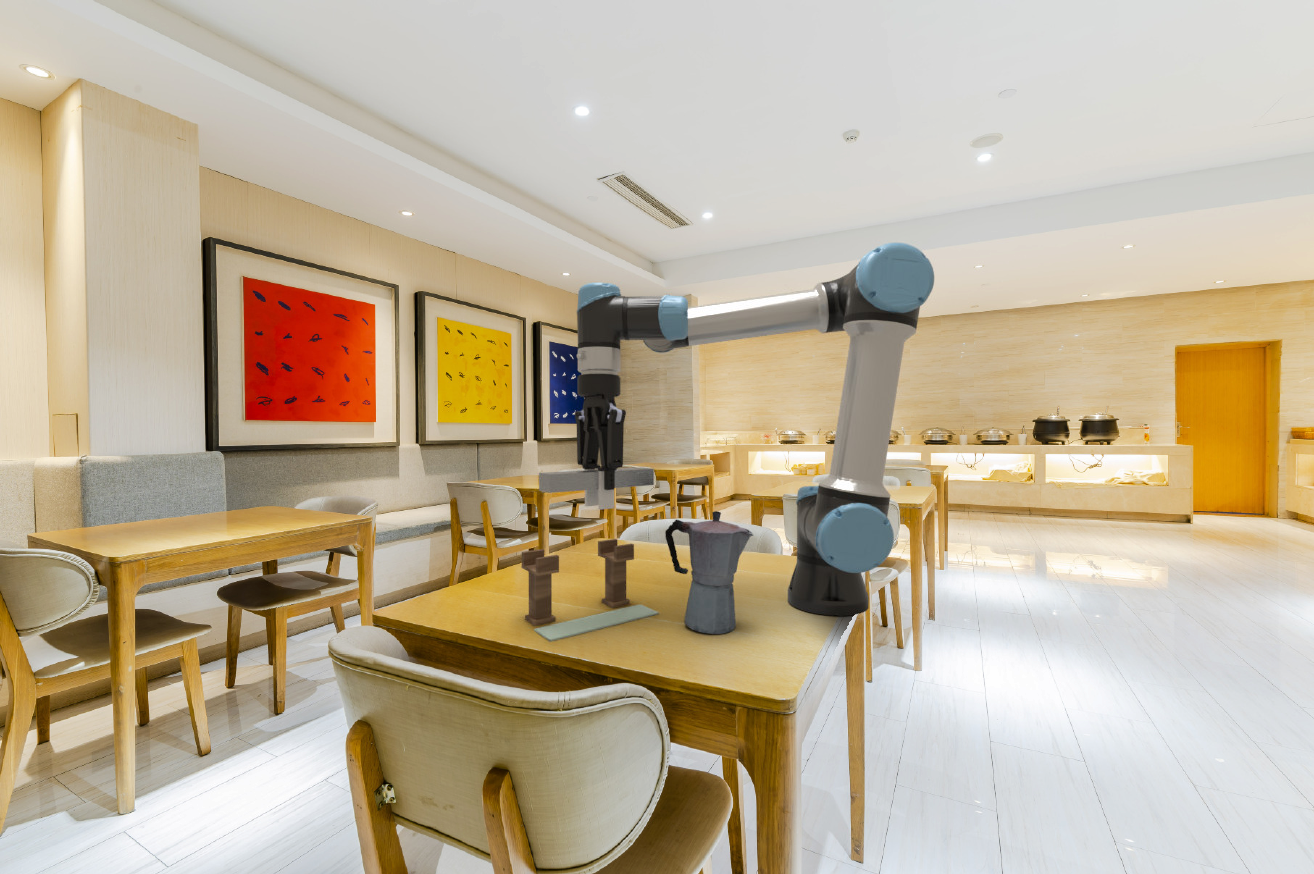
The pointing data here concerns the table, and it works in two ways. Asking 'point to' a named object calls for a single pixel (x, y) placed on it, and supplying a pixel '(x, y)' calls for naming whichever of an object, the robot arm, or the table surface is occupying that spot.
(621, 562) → the walnut standards
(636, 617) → the green mat
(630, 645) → the table surface
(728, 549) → the moka pot
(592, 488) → the steel bar
